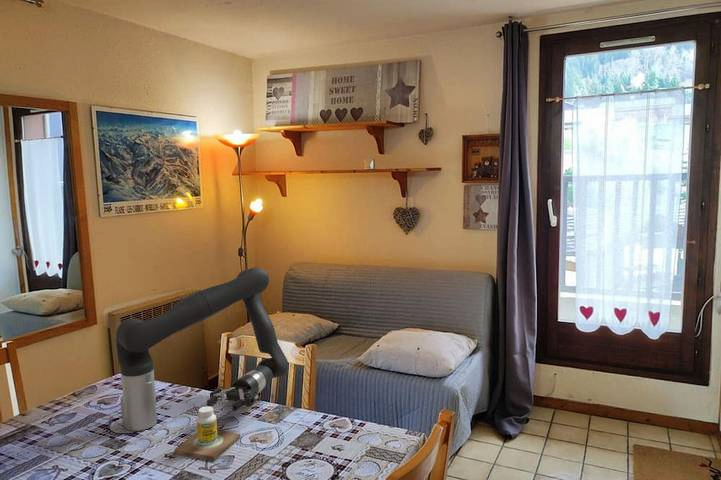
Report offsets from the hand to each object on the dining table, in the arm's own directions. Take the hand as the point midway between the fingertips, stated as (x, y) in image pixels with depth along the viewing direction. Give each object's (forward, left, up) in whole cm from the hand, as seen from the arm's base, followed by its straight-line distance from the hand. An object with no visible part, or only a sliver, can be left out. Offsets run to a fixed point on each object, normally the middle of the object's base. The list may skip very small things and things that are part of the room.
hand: (220, 406), depth 156 cm
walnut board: (0, -7, -9) cm, 11 cm away
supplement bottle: (0, -7, -8) cm, 10 cm away
